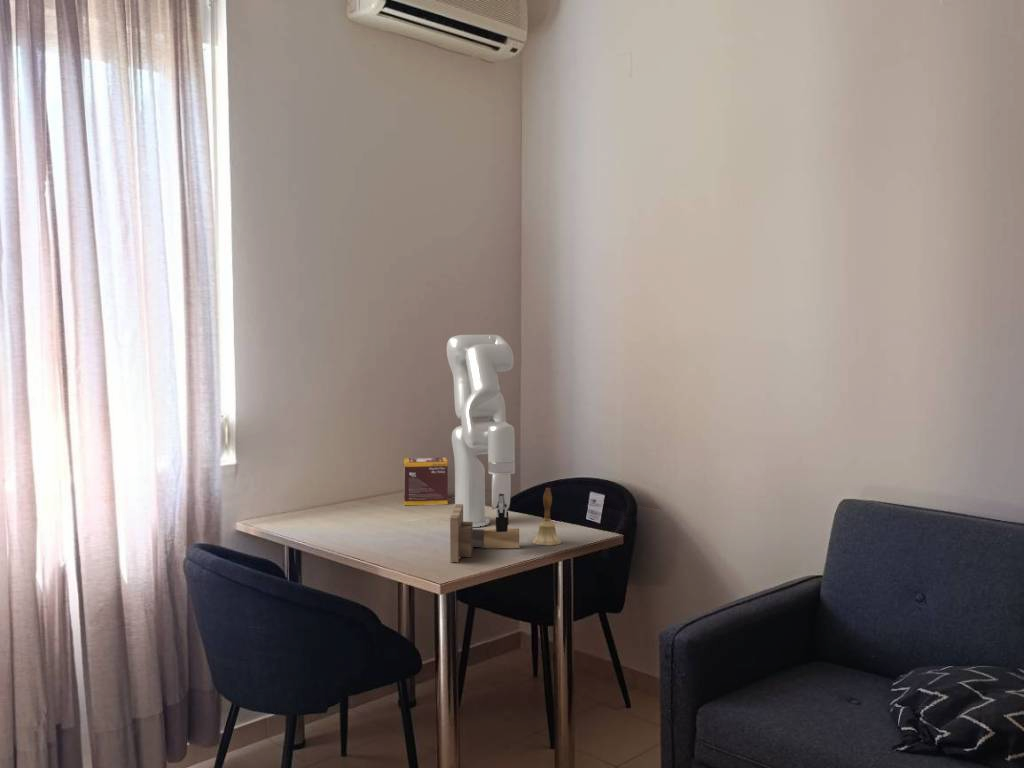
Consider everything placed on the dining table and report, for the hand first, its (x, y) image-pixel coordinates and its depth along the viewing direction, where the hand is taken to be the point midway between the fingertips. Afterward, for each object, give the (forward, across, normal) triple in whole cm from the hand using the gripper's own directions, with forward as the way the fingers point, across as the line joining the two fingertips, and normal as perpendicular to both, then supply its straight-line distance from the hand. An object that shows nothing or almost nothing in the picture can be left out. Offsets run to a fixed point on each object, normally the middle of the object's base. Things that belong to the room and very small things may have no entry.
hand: (502, 528), depth 266 cm
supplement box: (+4, -70, -29) cm, 76 cm away
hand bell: (+6, -7, +13) cm, 16 cm away
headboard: (+6, +7, -10) cm, 13 cm away
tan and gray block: (+5, -1, -2) cm, 6 cm away
